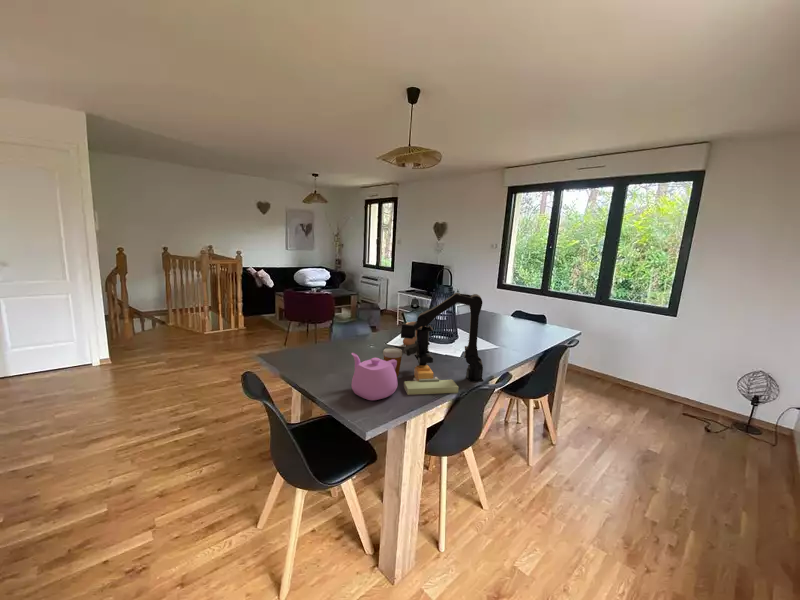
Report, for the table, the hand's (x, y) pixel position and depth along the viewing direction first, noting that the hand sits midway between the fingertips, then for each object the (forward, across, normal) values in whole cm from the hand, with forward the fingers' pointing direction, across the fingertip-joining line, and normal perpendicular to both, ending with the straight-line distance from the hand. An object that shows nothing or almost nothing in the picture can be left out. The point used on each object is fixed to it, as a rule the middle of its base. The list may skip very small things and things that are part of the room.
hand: (421, 370), depth 172 cm
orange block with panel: (+1, +6, 0) cm, 6 cm away
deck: (+1, +15, 0) cm, 15 cm away
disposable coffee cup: (+2, 0, -14) cm, 14 cm away
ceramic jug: (+2, -42, +7) cm, 42 cm away
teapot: (+2, +20, -25) cm, 32 cm away
